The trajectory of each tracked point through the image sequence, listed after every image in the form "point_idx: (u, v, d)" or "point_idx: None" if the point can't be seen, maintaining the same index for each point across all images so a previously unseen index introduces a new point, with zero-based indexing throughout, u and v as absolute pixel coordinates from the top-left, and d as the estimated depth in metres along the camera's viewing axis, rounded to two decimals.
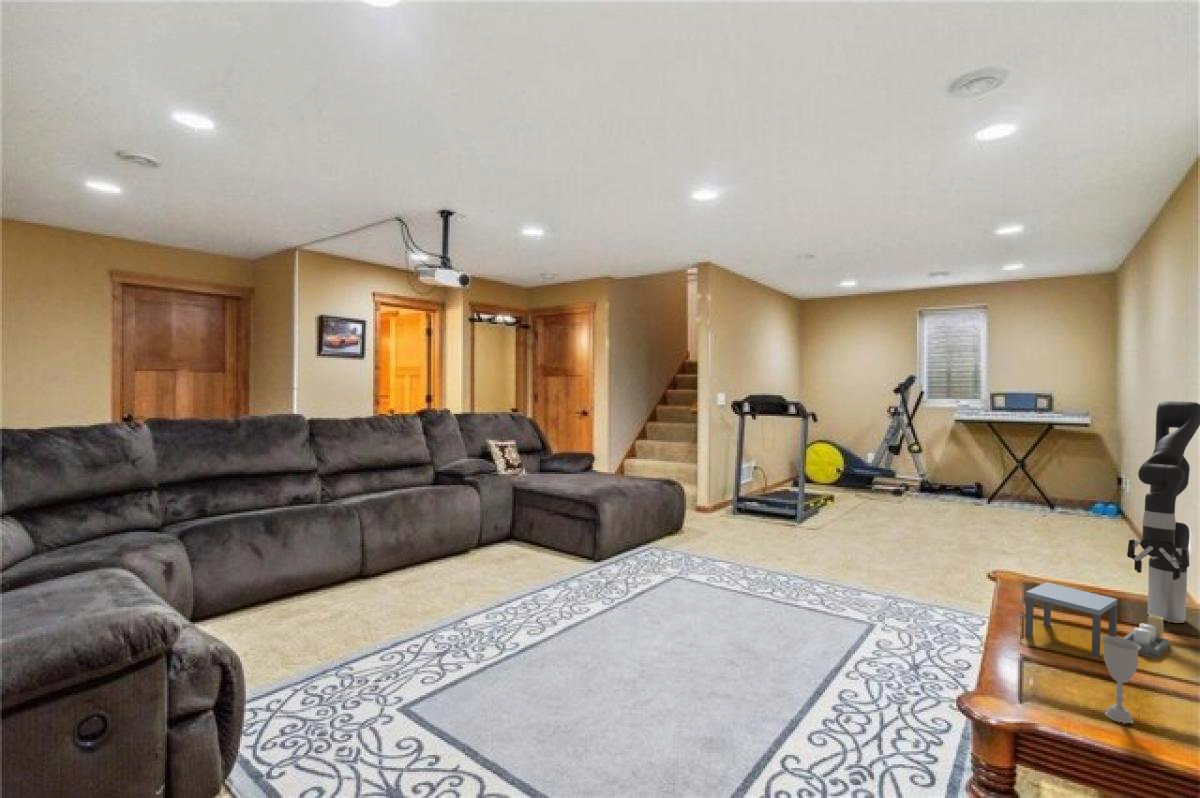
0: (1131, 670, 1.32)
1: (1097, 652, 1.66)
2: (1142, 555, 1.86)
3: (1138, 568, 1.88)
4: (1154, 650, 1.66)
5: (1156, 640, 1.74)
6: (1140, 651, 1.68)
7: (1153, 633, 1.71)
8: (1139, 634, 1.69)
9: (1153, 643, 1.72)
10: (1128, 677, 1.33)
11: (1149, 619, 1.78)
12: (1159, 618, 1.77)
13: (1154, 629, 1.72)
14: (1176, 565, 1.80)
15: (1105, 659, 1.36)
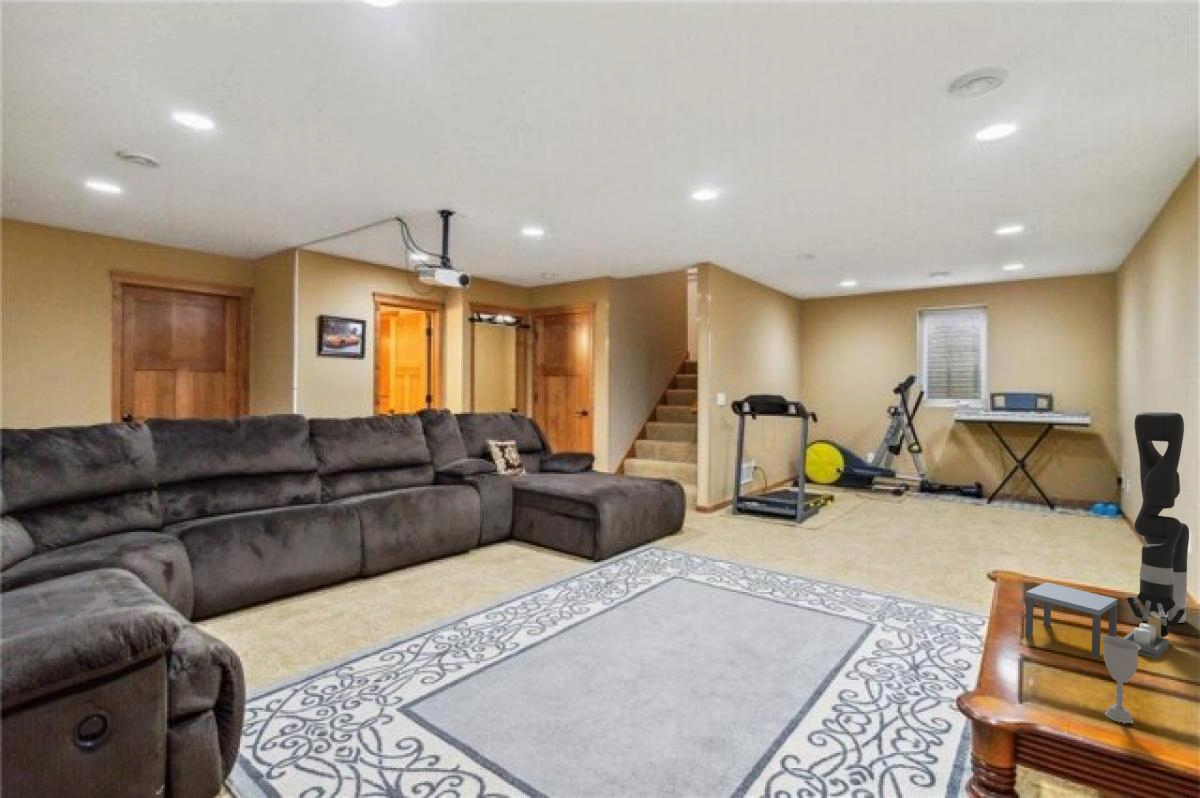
0: (1131, 670, 1.32)
1: (1097, 652, 1.66)
2: (1146, 613, 1.78)
3: None
4: (1154, 650, 1.66)
5: (1156, 640, 1.74)
6: (1140, 651, 1.68)
7: (1153, 633, 1.71)
8: (1139, 634, 1.69)
9: (1153, 643, 1.72)
10: (1128, 677, 1.33)
11: (1149, 619, 1.78)
12: (1159, 618, 1.77)
13: (1154, 629, 1.72)
14: (1164, 622, 1.75)
15: (1105, 659, 1.36)
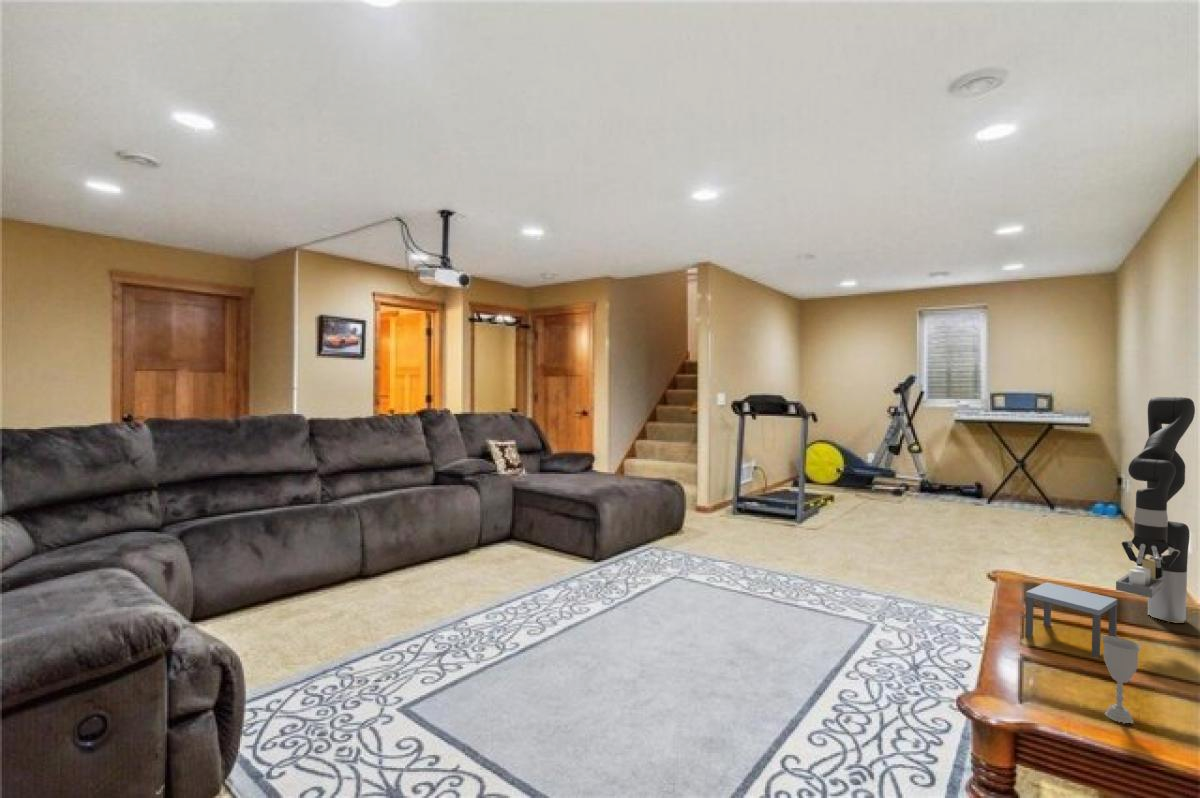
0: (1131, 670, 1.32)
1: (1097, 652, 1.66)
2: (1141, 556, 1.80)
3: None
4: (1149, 589, 1.67)
5: (1151, 582, 1.75)
6: (1135, 591, 1.69)
7: (1148, 574, 1.73)
8: (1134, 575, 1.71)
9: (1148, 584, 1.73)
10: (1128, 677, 1.33)
11: (1144, 562, 1.79)
12: (1153, 561, 1.78)
13: (1149, 570, 1.73)
14: (1159, 565, 1.77)
15: (1105, 659, 1.36)
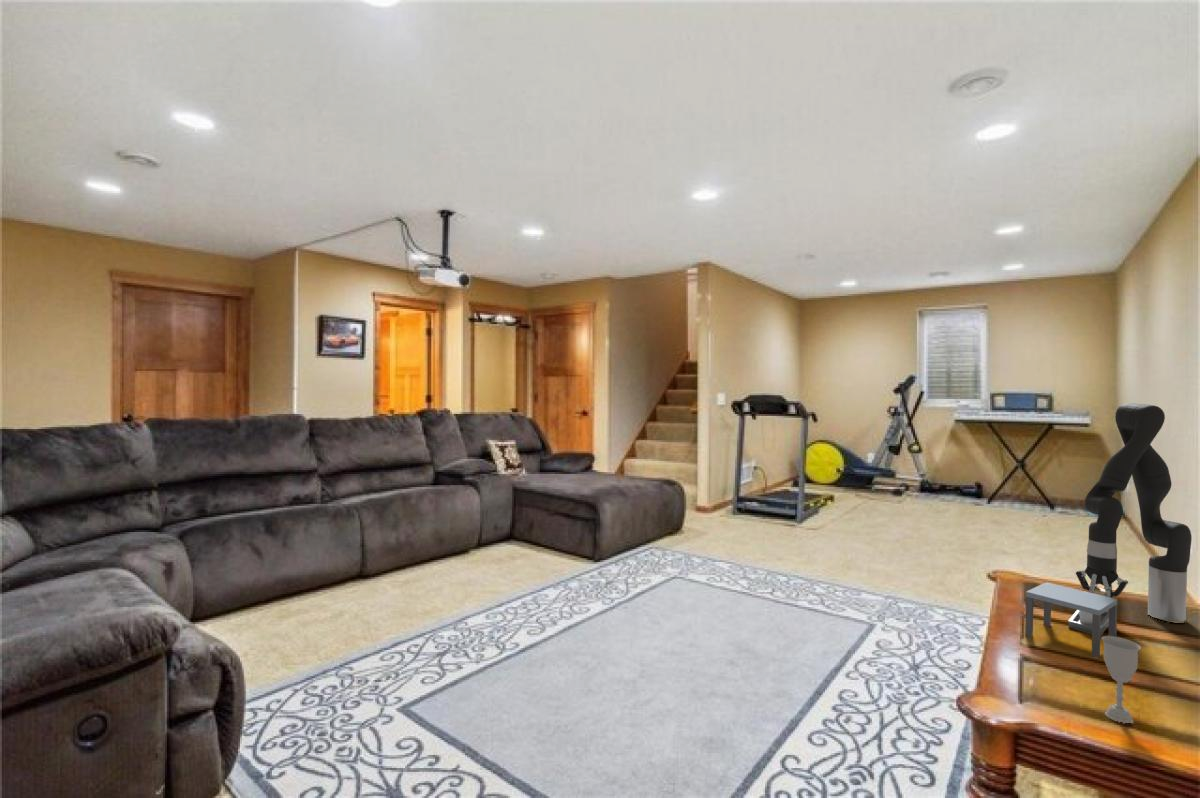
0: (1131, 670, 1.32)
1: (1097, 652, 1.66)
2: (1093, 585, 1.92)
3: None
4: None
5: (1101, 614, 1.88)
6: (1085, 630, 1.83)
7: None
8: (1083, 615, 1.84)
9: None
10: (1128, 677, 1.33)
11: (1095, 593, 1.92)
12: (1103, 591, 1.91)
13: None
14: (1108, 594, 1.89)
15: (1105, 659, 1.36)
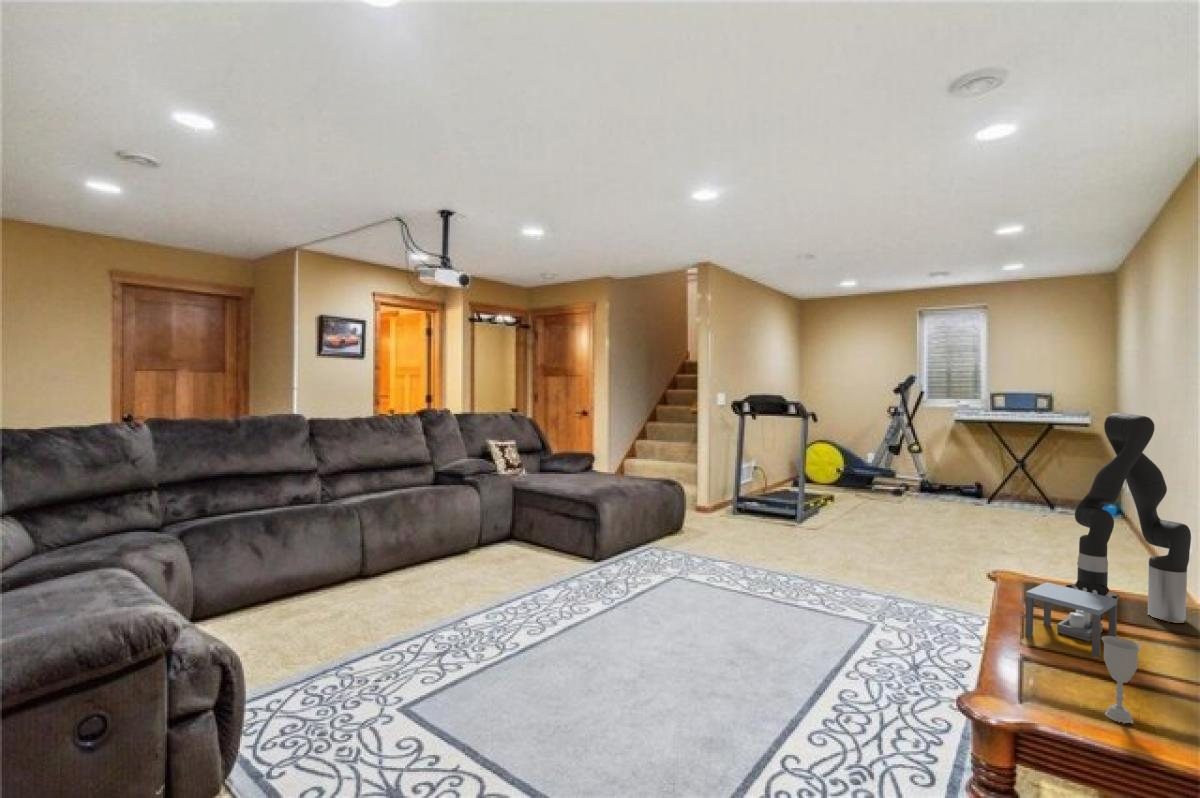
0: (1131, 670, 1.32)
1: (1097, 652, 1.66)
2: None
3: None
4: (1086, 633, 1.76)
5: (1091, 624, 1.84)
6: (1074, 634, 1.79)
7: (1088, 617, 1.82)
8: (1073, 618, 1.80)
9: (1088, 627, 1.82)
10: (1128, 677, 1.33)
11: None
12: None
13: (1089, 614, 1.82)
14: None
15: (1105, 659, 1.36)
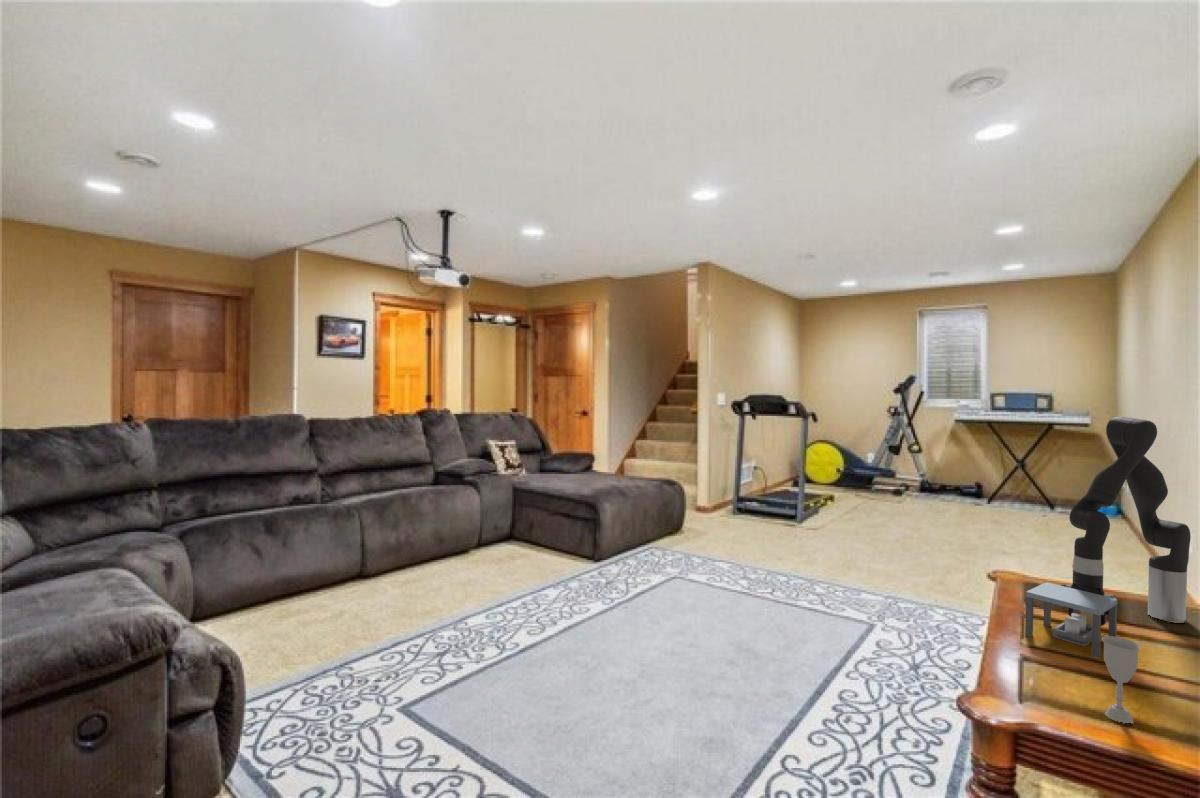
0: (1131, 670, 1.32)
1: (1097, 652, 1.66)
2: None
3: None
4: (1082, 638, 1.73)
5: (1087, 629, 1.81)
6: (1070, 639, 1.76)
7: (1083, 622, 1.79)
8: (1069, 623, 1.77)
9: (1083, 632, 1.79)
10: (1128, 677, 1.33)
11: None
12: None
13: (1084, 618, 1.79)
14: None
15: (1105, 659, 1.36)
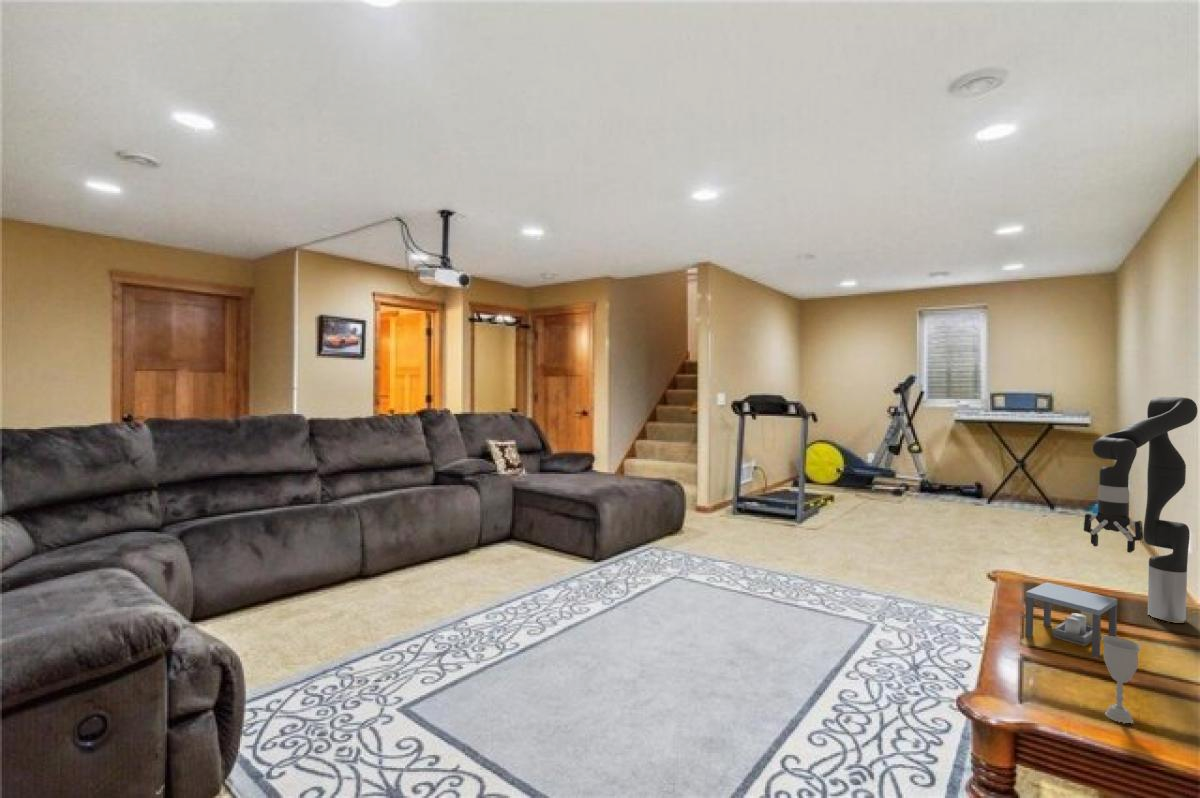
0: (1131, 670, 1.32)
1: (1097, 652, 1.66)
2: (1098, 529, 1.87)
3: (1094, 542, 1.88)
4: (1082, 638, 1.73)
5: (1087, 629, 1.81)
6: (1070, 639, 1.76)
7: (1083, 622, 1.79)
8: (1069, 623, 1.77)
9: (1083, 632, 1.79)
10: (1128, 677, 1.33)
11: None
12: None
13: (1084, 618, 1.79)
14: (1130, 538, 1.81)
15: (1105, 659, 1.36)
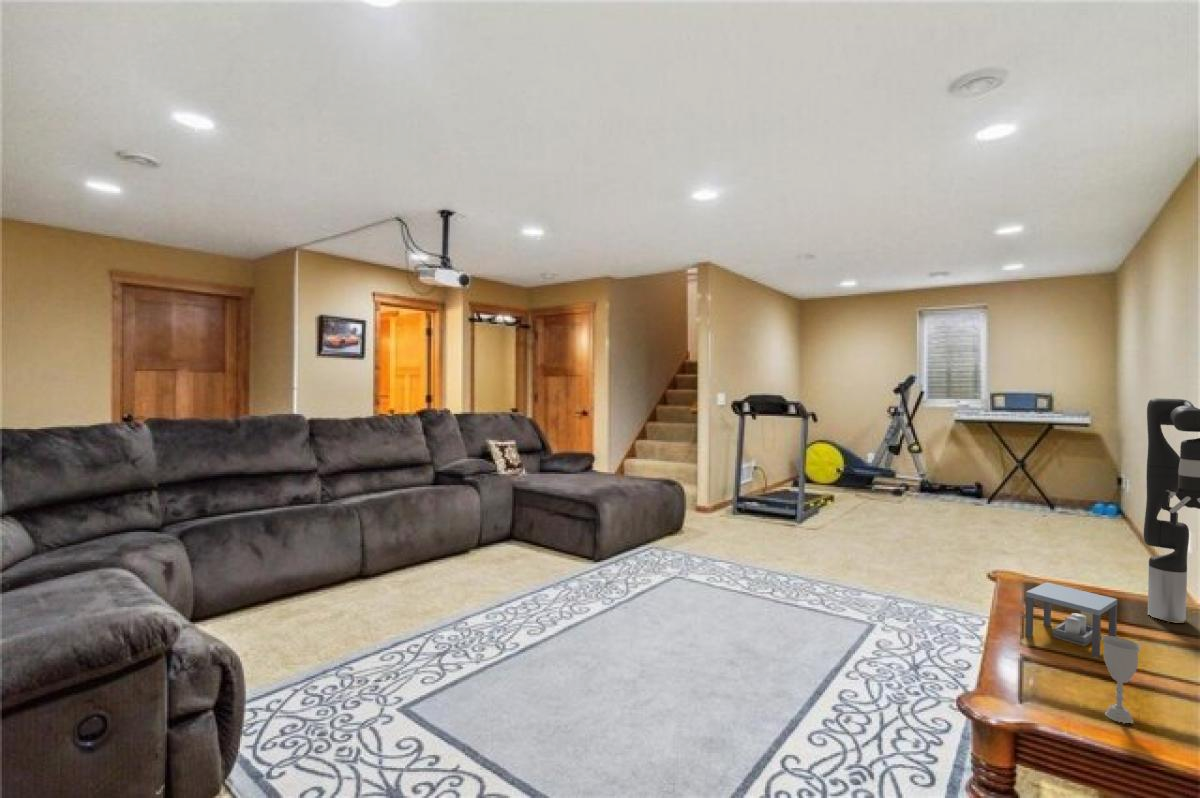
0: (1131, 670, 1.32)
1: (1097, 652, 1.66)
2: (1178, 507, 1.74)
3: (1174, 521, 1.75)
4: (1082, 638, 1.73)
5: (1087, 629, 1.81)
6: (1070, 639, 1.76)
7: (1083, 622, 1.79)
8: (1069, 623, 1.77)
9: (1083, 632, 1.79)
10: (1128, 677, 1.33)
11: None
12: None
13: (1084, 618, 1.79)
14: None
15: (1105, 659, 1.36)
